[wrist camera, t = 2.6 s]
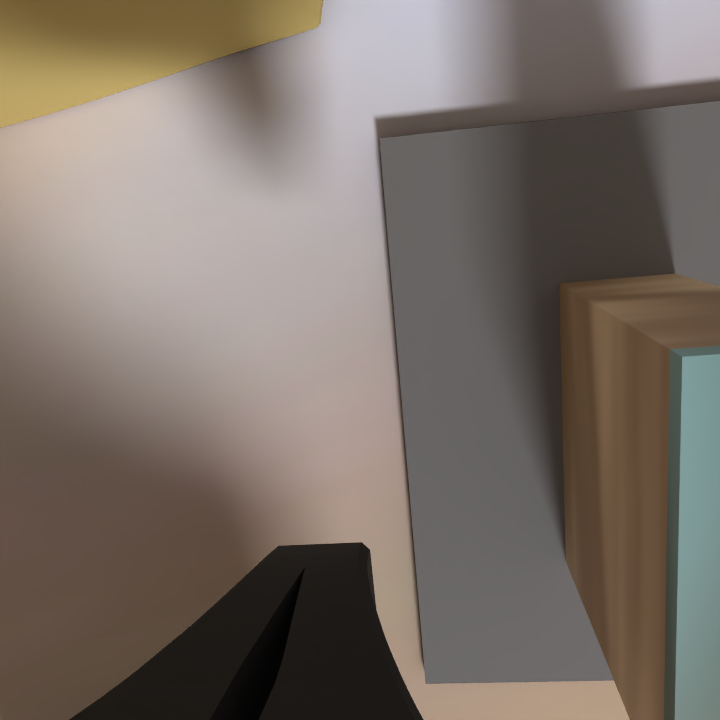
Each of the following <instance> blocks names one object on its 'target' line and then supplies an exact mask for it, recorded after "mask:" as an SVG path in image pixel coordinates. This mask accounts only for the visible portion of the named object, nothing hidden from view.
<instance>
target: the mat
mask: <svg viewBox="0 0 720 720" xmlns="http://www.w3.org/2000/svg"><path fill="white" fill-rule="evenodd" d="M379 140H380V152H381V164H382V175H383V187H384V199H385V211H386V222H387V234H388V246H389V258H390V270H391V281H392V293H393V305H394V317H395V328H396V340H397V352H398V364H399V375H400V387H401V399H402V411H403V423H404V434H405V446H406V458H407V470H408V481H409V493H410V505H411V517H412V528H413V540H414V552H415V564H416V575H417V587H418V599H419V611H420V623H421V634H422V646H423V658H424V670H425V681H426V684H438V683H493V682H548V681H603V680H614V679H613V676H612V674H611V672H610V669H609V667H608V664H607V662H606V659H605V657H604V654H603V652H602V649H601V647H600V644H599V642H598V640H597V637H596V635H595V632H594V630H593V627H592V625H591V622H590V620H589V617H588V615H587V613H586V610H585V608H584V605H583V603H582V600H581V598H580V595H579V593H578V590H577V588H576V585H575V583H574V581H573V578H572V576H571V573H570V571H569V568H568V566H567V563H566V545H565V504H564V462H563V421H562V380H561V339H560V298H559V283H568V282H580V281H592V280H604V279H616V278H628V277H640V276H652V275H664V274H679V275H682V276H685V277H689V278H692V279H696V280H699V281H703V282H706V283H710V284H713V285H717V286H720V101H714V102H705V103H696V104H687V105H678V106H669V107H660V108H651V109H642V110H632V111H623V112H614V113H605V114H596V115H587V116H578V117H569V118H560V119H551V120H542V121H533V122H523V123H514V124H505V125H496V126H487V127H478V128H469V129H460V130H451V131H442V132H433V133H424V134H414V135H405V136H396V137H387V138H379Z"/></svg>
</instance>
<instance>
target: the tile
mask: <svg viewBox="0 0 720 720" xmlns="http://www.w3.org/2000/svg"><path fill="white" fill-rule="evenodd" d="M559 298H560V339H561V380H562V421H563V462H564V504H565V545H566V563H567V566H568V568H569V571H570V573H571V576H572V578H573V581H574V583H575V585H576V588H577V590H578V593H579V595H580V598H581V600H582V603H583V605H584V608H585V610H586V613H587V615H588V617H589V620H590V622H591V625H592V627H593V630H594V632H595V635H596V637H597V640H598V642H599V644H600V647H601V649H602V652H603V654H604V657H605V659H606V662H607V664H608V667H609V669H610V672H611V674H612V676H613V679H614V681H615V684H616V686H617V689H618V691H619V694H620V696H621V699H622V701H623V704H624V706H625V708H626V711H627V713H628V716H629V718H630V720H720V286H717V285H713V284H710V283H706V282H703V281H699V280H696V279H692V278H689V277H685V276H682V275H679V274H664V275H652V276H640V277H628V278H616V279H604V280H592V281H580V282H568V283H559Z"/></svg>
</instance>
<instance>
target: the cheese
mask: <svg viewBox="0 0 720 720" xmlns="http://www.w3.org/2000/svg"><path fill="white" fill-rule="evenodd" d="M322 5H323V0H0V128H1V127H5V126H8V125H12V124H15V123H19V122H22V121H26V120H29V119H33V118H36V117H40V116H44V115H47V114H51V113H54V112H57V111H60V110H64V109H67V108H70V107H73V106H77V105H80V104H83V103H86V102H90V101H93V100H96V99H99V98H103V97H106V96H109V95H112V94H115V93H118V92H120V91H123V90H126V89H129V88H132V87H135V86H138V85H141V84H144V83H147V82H150V81H153V80H156V79H159V78H162V77H165V76H168V75H171V74H174V73H177V72H180V71H183V70H185V69H188V68H191V67H194V66H197V65H200V64H202V63H205V62H208V61H211V60H214V59H217V58H220V57H223V56H226V55H229V54H233V53H236V52H239V51H242V50H245V49H249V48H252V47H255V46H259V45H262V44H265V43H269V42H272V41H275V40H279V39H282V38H285V37H289V36H292V35H295V34H299V33H302V32H305V31H308V30H311V29H314V28H317V27H318V25H319V24H320V23H321V14H322Z"/></svg>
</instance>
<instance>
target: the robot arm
mask: <svg viewBox="0 0 720 720" xmlns="http://www.w3.org/2000/svg"><path fill="white" fill-rule="evenodd" d="M69 720H423V718H422V716H421V715H420V713H419V711H418V709H417V707H416V705H415V703H414V701H413V699H412V697H411V695H410V693H409V691H408V689H407V687H406V685H405V683H404V681H403V679H402V677H401V674H400V672H399V670H398V667H397V665H396V663H395V660H394V658H393V656H392V653H391V651H390V648H389V646H388V643H387V641H386V638H385V635H384V633H383V630H382V627H381V623H380V620H379V617H378V614H377V611H376V604H375V594H374V584H373V575H372V565H371V555H370V549H368V548H367V547H366V546H365V545H364V544H363V543H362V542H361V543H337V544H313V545H289V546H278V547H277V548H276V549H274V550H273V551H272V552H271V553H270V554H269V555H267V556H266V557H265V558H264V559H263V560H262V561H261V562H260V563H259V564H258V565H257V566H256V567H255V568H253V569H252V570H251V571H250V572H249V573H248V574H247V575H246V576H245V577H244V578H243V579H242V580H241V581H240V582H239V583H238V584H236V585H235V586H234V587H233V588H232V589H231V590H230V591H229V592H228V593H227V594H226V595H225V596H223V597H222V598H221V599H220V600H219V601H218V602H217V603H216V604H215V605H214V606H213V607H211V608H210V609H209V610H208V611H207V612H206V613H205V614H204V615H203V616H202V617H200V618H199V619H198V620H197V621H196V622H195V623H194V624H193V625H191V626H190V627H189V628H188V629H187V630H185V631H184V632H183V633H182V634H181V635H179V636H178V637H177V638H176V639H175V640H173V641H172V642H171V643H170V644H168V645H167V646H166V647H165V648H164V649H162V650H161V651H160V652H159V653H158V654H156V655H155V656H154V657H153V658H152V659H150V660H149V661H148V662H147V663H146V664H144V665H143V666H142V667H141V668H140V669H138V670H137V671H136V672H135V673H133V674H132V675H131V676H129V677H128V678H127V679H125V680H124V681H123V682H121V683H120V684H119V685H117V686H116V687H115V688H113V689H112V690H111V691H109V692H108V693H107V694H105V695H104V696H103V697H101V698H100V699H98V700H97V701H95V702H94V703H93V704H91V705H90V706H88V707H87V708H85V709H84V710H82V711H81V712H80V713H78V714H77V715H75V716H74V717H72V718H71V719H69Z"/></svg>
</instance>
